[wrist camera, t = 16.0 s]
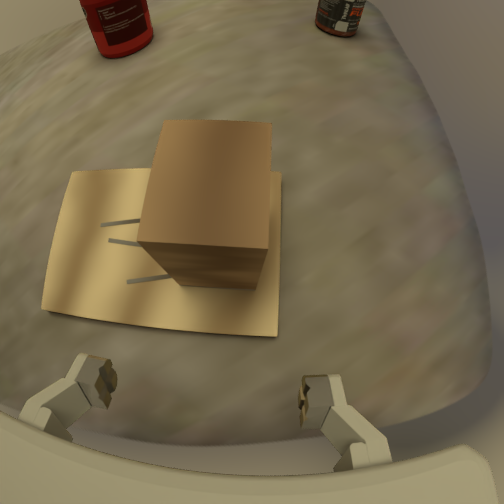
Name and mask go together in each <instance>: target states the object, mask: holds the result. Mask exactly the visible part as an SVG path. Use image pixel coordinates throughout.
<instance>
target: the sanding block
mask: <svg viewBox="0 0 504 504" xmlns="http://www.w3.org/2000/svg"><path fill="white" fill-rule="evenodd" d="M271 139H272V123H263V122H248V121H227V120H164V123H163V126H162V130H161V133H160V137H159V141H158V144H157V148H156V152H155V156H154V160H153V164H152V168H151V172H150V176H149V180H148V185H147V189H146V194H145V198H144V203H143V208H142V213H141V218H140V223H139V229H138V234H137V240H136V241H137V242H138V243H139V244H140V245H141V246H142V248H143V249H144V250H145V251H146V252H147V253H148V254H149V255H150V256H151V257H152V258H153V259H154V260H155V261H156V262H157V263H158V264H159V265H160V266H161V267H162V268H163V269H164V270H165V271H166V272H167V273H168V274H169V275H170V276H171V277H172V278H173V279H174V280H175V281H176V282H177V283H178V284H179V285H180V286H192V287H205V288H219V289H234V290H251V291H255V290H256V287H257V284H258V281H259V277H260V274H261V271H262V268H263V264H264V261H265V258H266V255H267V251H268V241H269V212H270V179H271Z"/></svg>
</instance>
